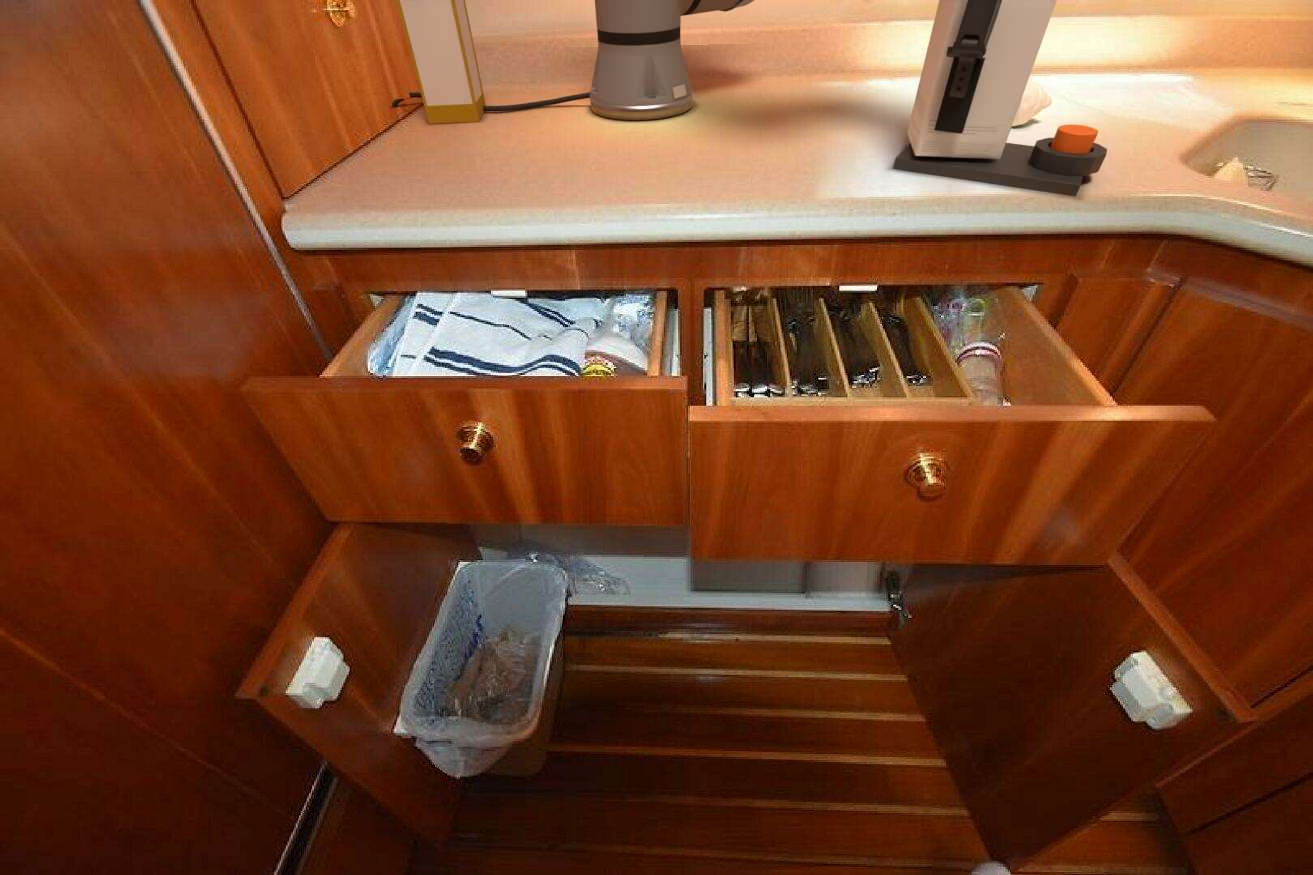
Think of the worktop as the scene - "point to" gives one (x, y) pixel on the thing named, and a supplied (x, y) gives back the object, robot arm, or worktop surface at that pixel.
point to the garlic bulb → (1031, 102)
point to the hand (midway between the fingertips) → (959, 117)
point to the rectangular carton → (998, 83)
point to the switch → (1074, 139)
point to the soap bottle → (443, 59)
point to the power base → (1013, 167)
